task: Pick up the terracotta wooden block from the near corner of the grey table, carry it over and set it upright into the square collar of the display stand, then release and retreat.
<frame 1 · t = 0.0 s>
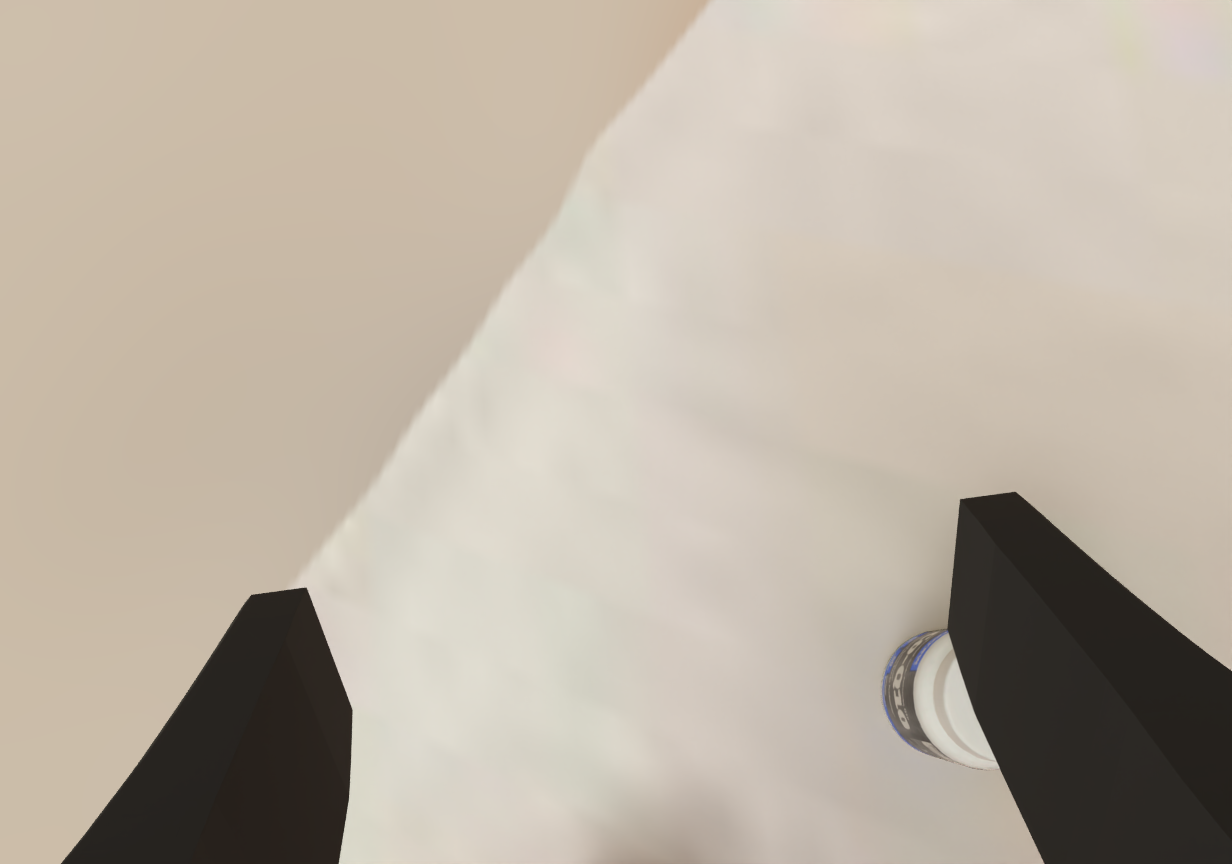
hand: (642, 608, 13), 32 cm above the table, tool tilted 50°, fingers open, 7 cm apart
pill bottle: (939, 693, 44), on the table
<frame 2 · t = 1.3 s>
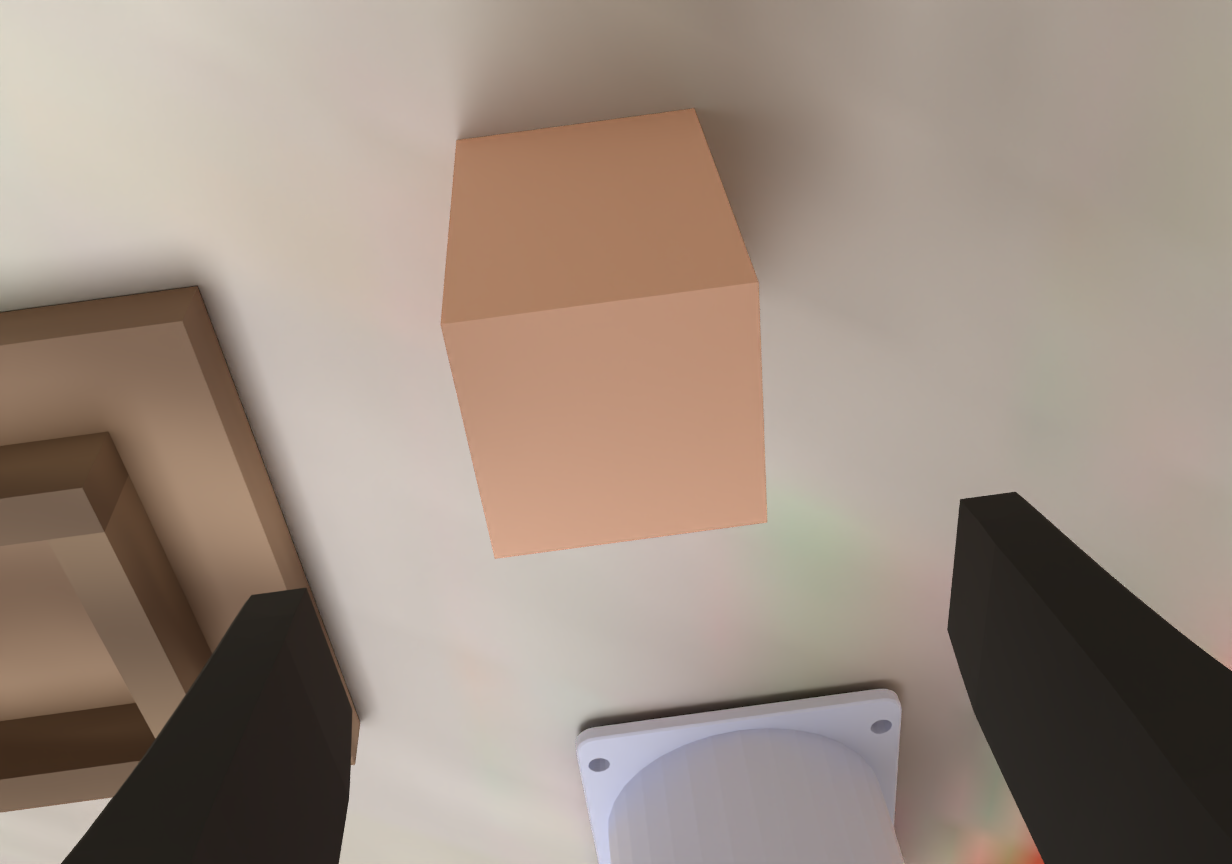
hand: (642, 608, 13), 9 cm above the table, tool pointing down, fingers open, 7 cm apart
terracotta block: (589, 231, 20), on the table
display stand: (5, 576, 24), on the table
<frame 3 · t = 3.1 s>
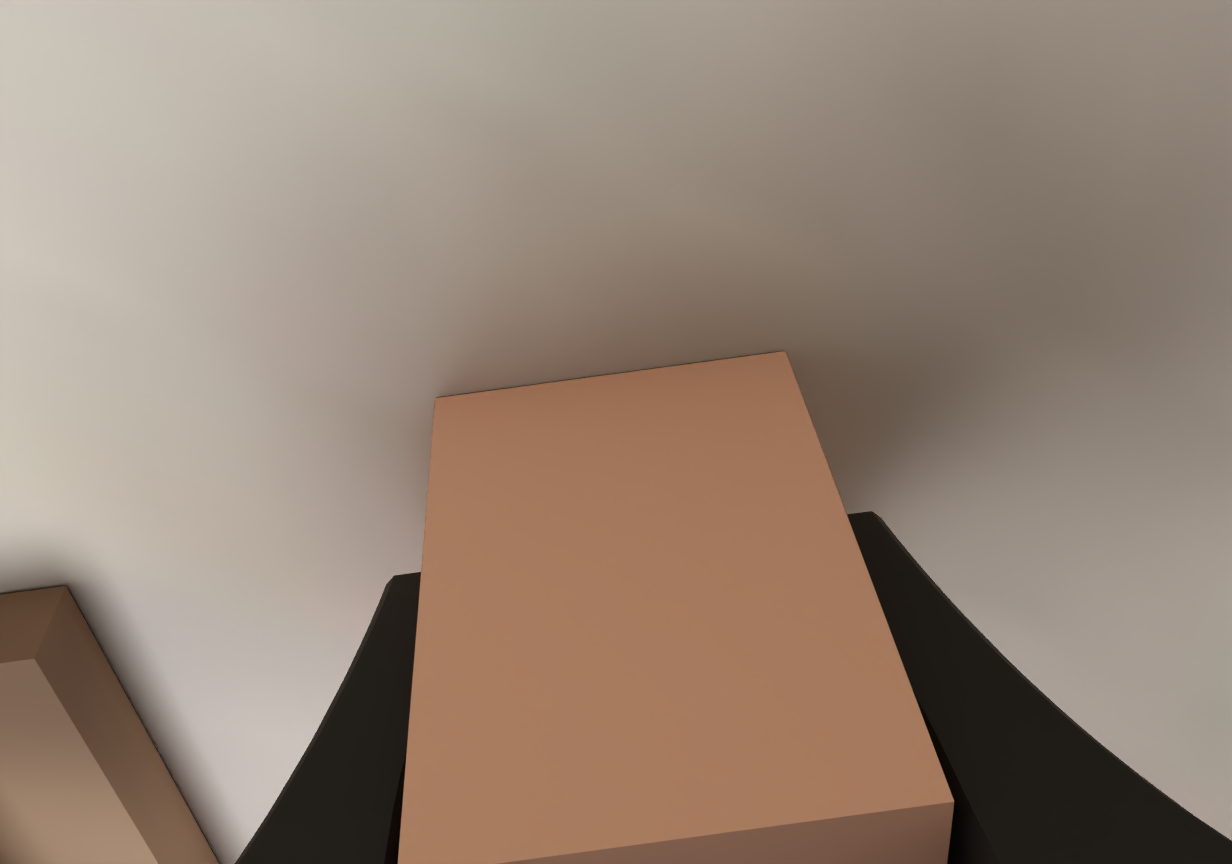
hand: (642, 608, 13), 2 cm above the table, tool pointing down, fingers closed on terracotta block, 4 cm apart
terracotta block: (627, 508, 14), on the table, touching gripper
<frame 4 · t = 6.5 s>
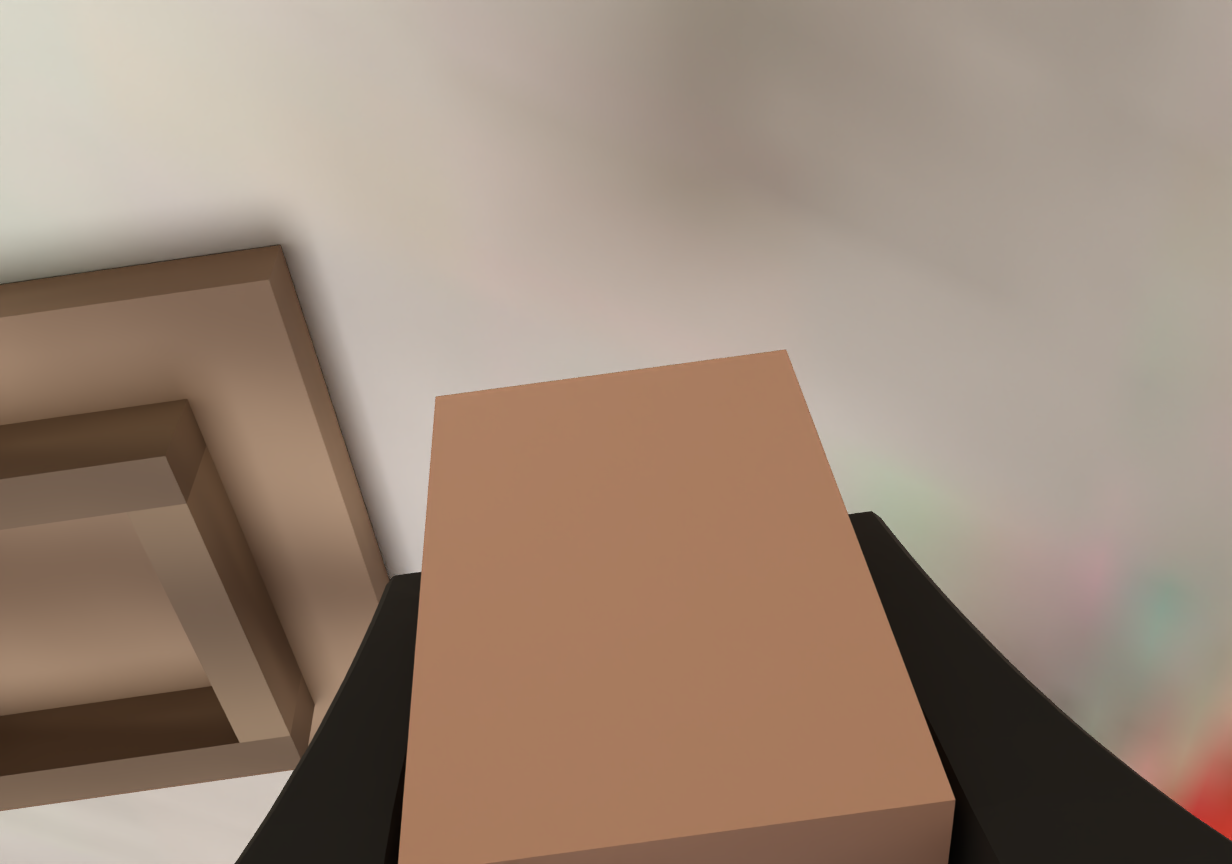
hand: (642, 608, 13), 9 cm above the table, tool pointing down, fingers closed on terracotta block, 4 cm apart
terracotta block: (628, 506, 14), point 7 cm above the table, touching gripper
display stand: (69, 555, 23), on the table
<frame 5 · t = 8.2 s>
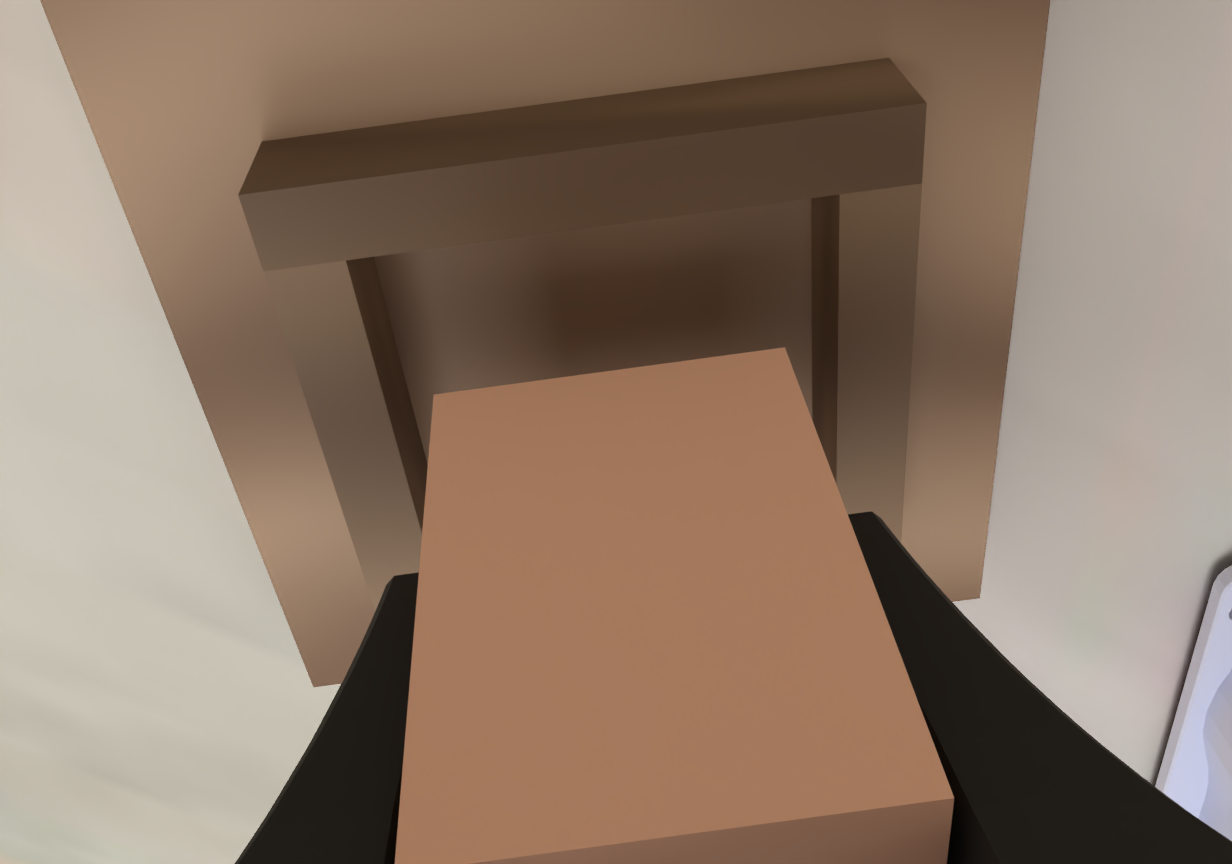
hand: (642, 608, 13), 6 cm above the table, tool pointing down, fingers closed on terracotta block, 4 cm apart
terracotta block: (627, 505, 14), point 5 cm above the table, touching gripper
display stand: (604, 321, 18), on the table
when the fingers open (4 cm above the table, at t = 9.8 s): terracotta block stays where it is, resting on display stand.
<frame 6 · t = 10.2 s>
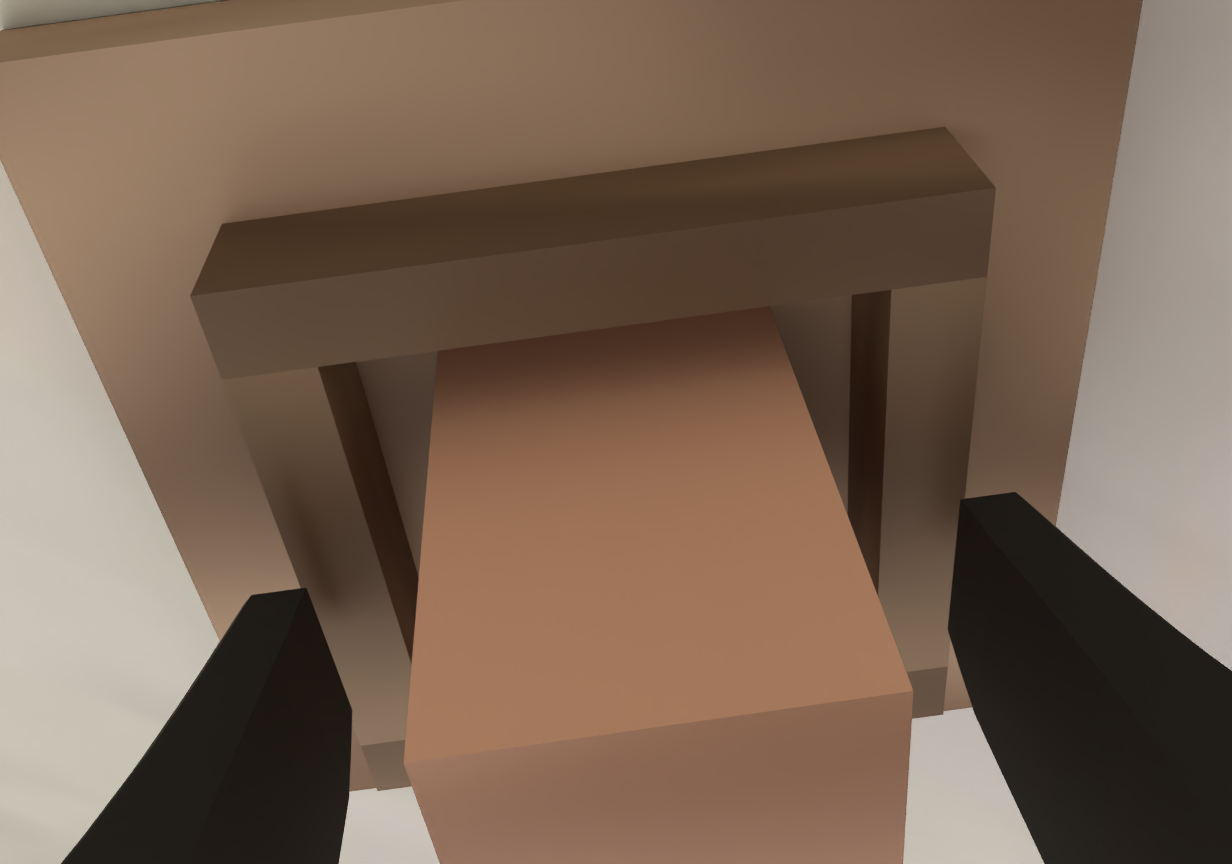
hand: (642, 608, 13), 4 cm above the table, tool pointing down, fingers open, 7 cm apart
terracotta block: (621, 457, 15), point 1 cm above the table, touching display stand
display stand: (614, 407, 16), on the table
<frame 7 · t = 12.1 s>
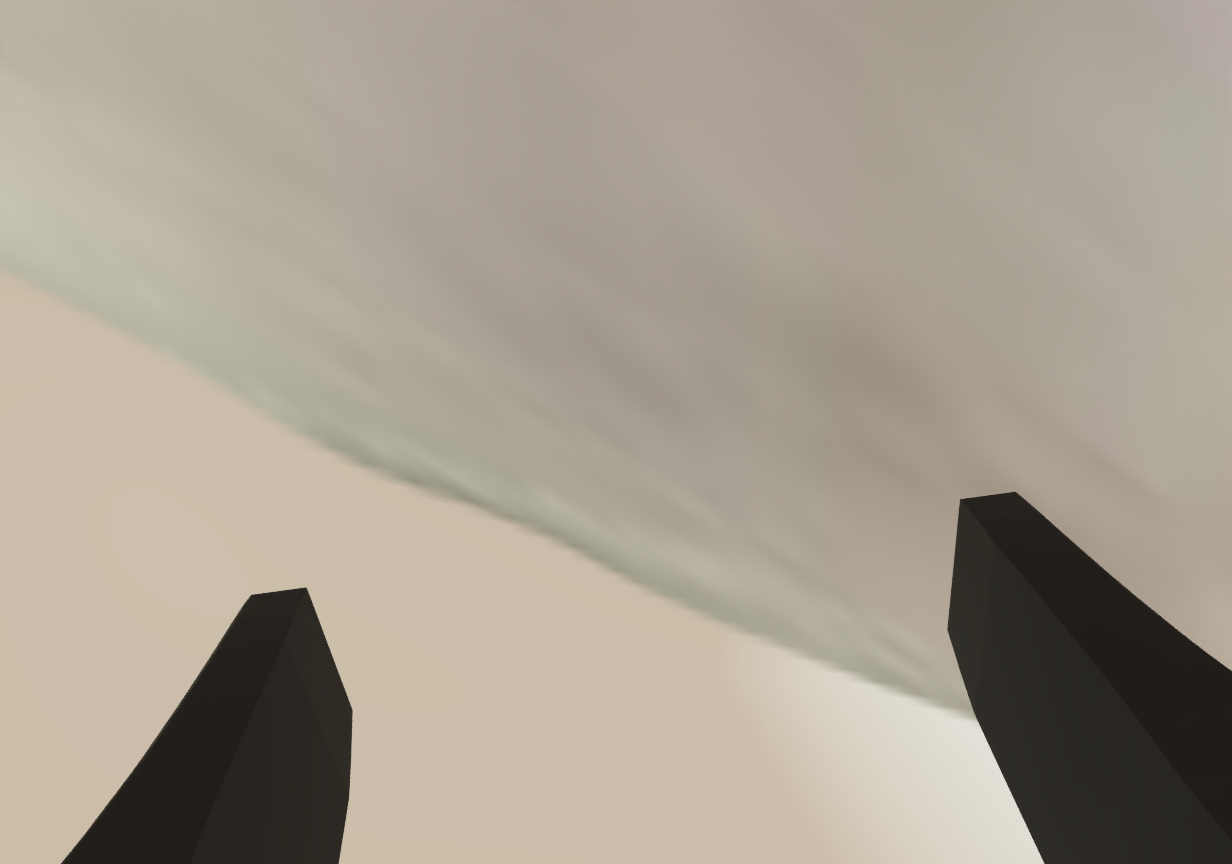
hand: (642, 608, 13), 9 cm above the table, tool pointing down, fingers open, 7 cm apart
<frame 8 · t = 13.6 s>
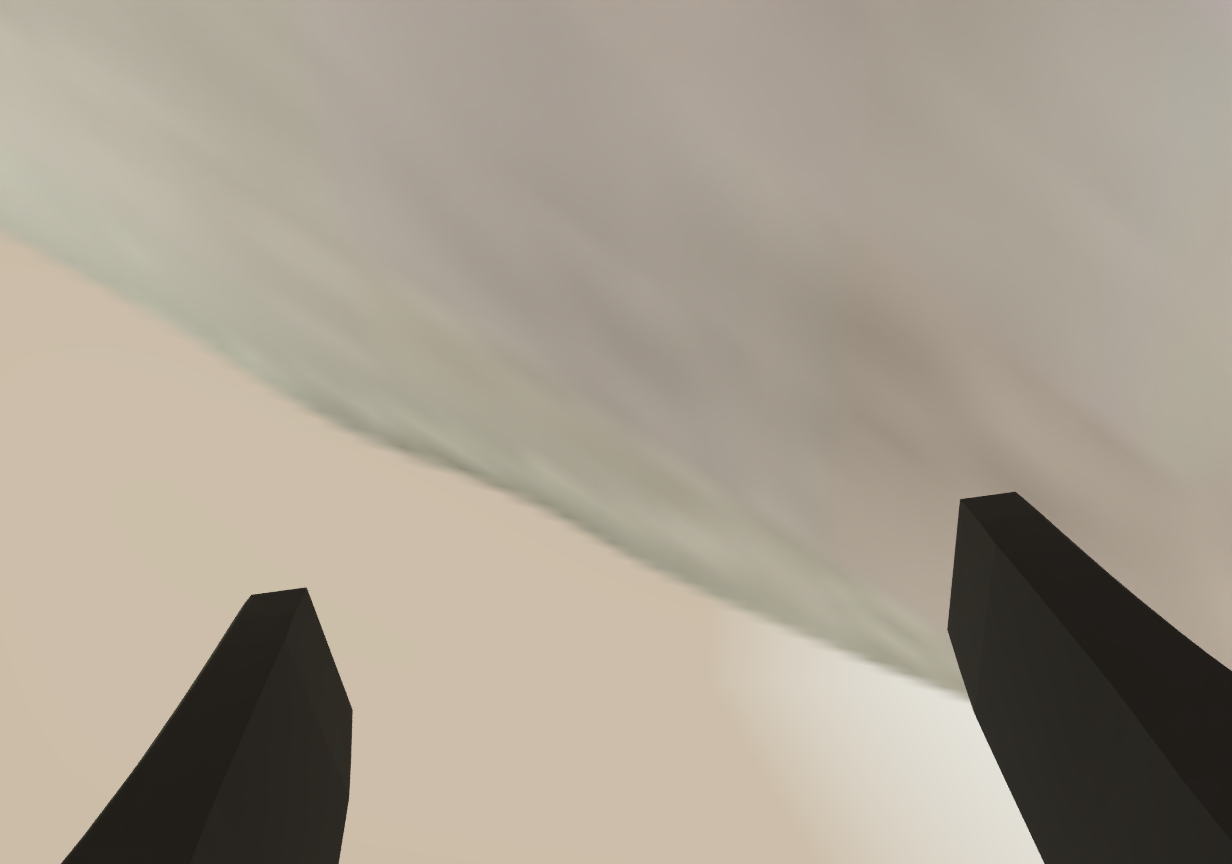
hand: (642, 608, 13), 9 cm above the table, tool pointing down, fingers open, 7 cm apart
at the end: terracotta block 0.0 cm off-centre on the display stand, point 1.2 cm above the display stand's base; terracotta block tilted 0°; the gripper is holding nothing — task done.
